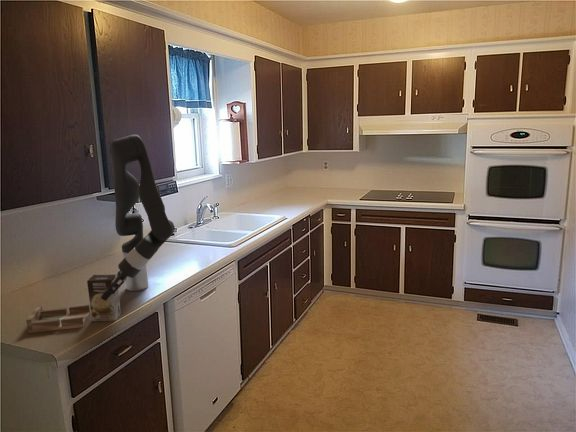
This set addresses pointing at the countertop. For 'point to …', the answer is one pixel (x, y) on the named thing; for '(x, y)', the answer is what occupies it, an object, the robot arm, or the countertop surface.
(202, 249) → the countertop surface
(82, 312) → the wooden tray
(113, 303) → the coffee box
